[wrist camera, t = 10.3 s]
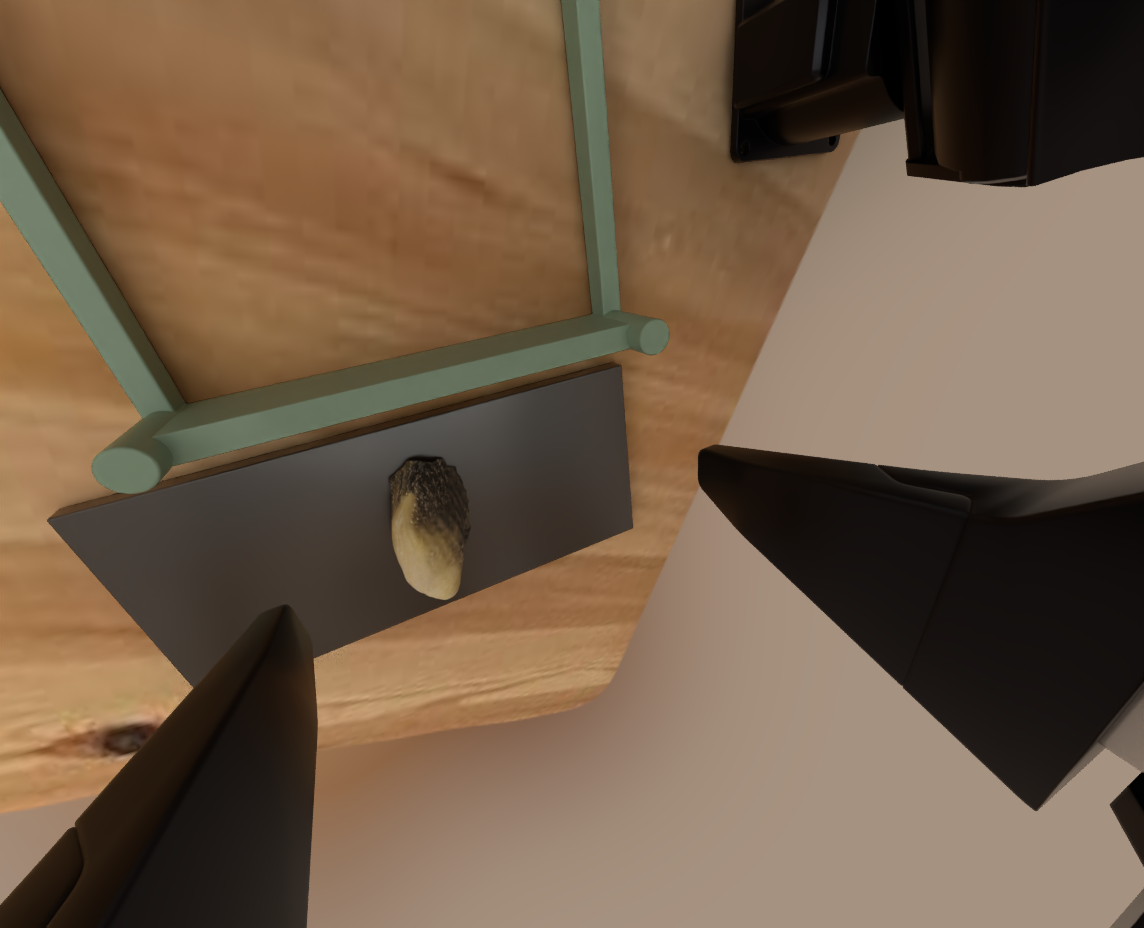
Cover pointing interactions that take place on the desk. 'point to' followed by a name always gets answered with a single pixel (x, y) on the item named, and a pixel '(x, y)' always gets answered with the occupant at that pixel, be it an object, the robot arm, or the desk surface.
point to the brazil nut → (430, 526)
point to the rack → (223, 424)
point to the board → (358, 519)
